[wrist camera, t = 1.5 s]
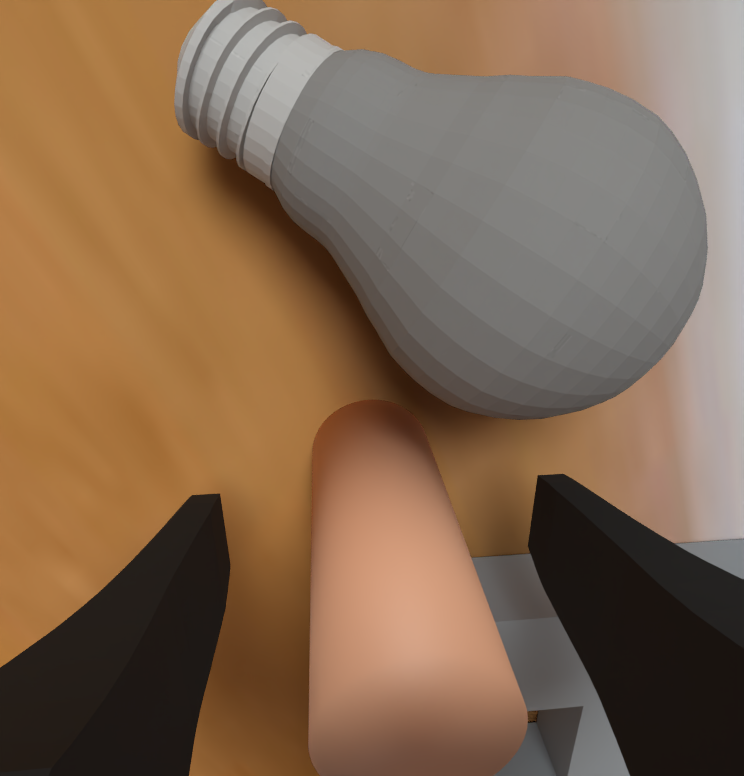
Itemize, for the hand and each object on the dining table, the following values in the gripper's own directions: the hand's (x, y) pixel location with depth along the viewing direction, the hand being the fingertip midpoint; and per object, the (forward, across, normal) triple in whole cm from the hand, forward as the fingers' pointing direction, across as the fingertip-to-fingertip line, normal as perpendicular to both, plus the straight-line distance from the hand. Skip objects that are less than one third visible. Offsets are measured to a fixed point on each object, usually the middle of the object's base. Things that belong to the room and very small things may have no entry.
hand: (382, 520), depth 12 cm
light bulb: (+2, +3, -9) cm, 10 cm away
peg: (+3, 0, 0) cm, 3 cm away
